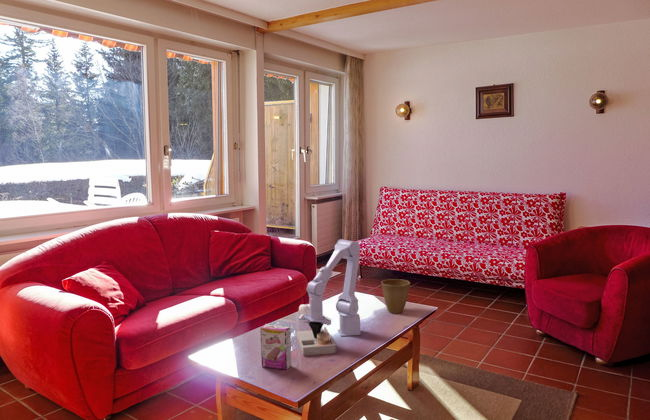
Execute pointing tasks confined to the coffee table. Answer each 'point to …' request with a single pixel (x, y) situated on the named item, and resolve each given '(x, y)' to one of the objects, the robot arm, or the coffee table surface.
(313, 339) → the trap board
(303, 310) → the white animal figurine
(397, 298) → the plant pot
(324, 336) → the beige rounded knob
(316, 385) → the coffee table surface
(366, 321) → the coffee table surface
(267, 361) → the candy bar box
